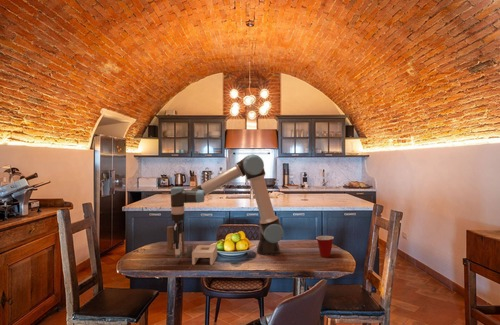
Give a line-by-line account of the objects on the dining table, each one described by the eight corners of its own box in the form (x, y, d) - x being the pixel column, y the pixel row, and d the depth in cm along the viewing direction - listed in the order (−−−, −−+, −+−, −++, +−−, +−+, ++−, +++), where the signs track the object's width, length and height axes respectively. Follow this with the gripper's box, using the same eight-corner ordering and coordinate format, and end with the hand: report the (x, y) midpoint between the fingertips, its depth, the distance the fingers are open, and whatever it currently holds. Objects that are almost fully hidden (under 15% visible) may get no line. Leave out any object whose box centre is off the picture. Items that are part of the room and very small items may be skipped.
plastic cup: (320, 252, 206) (320, 234, 206) (336, 255, 200) (336, 236, 200) (313, 256, 198) (313, 237, 197) (329, 259, 191) (329, 239, 191)
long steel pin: (182, 256, 190) (181, 233, 189) (180, 258, 186) (180, 234, 186) (176, 256, 190) (176, 233, 190) (174, 258, 186) (174, 234, 186)
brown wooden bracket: (182, 255, 201) (182, 227, 201) (166, 255, 202) (165, 227, 202) (184, 254, 205) (184, 226, 204) (168, 253, 205) (167, 225, 205)
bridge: (217, 256, 200) (217, 245, 200) (212, 264, 184) (212, 252, 184) (198, 256, 200) (198, 244, 200) (192, 264, 184) (191, 252, 184)
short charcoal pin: (193, 255, 201) (193, 244, 201) (191, 257, 198) (191, 246, 198) (187, 255, 201) (187, 244, 201) (186, 257, 198) (186, 245, 198)
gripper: (175, 211, 196) (176, 249, 196) (167, 215, 180) (167, 257, 180) (187, 211, 196) (188, 249, 196) (180, 215, 179) (181, 257, 179)
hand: (178, 253), depth 188 cm, fingers closed on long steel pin, 3 cm apart
